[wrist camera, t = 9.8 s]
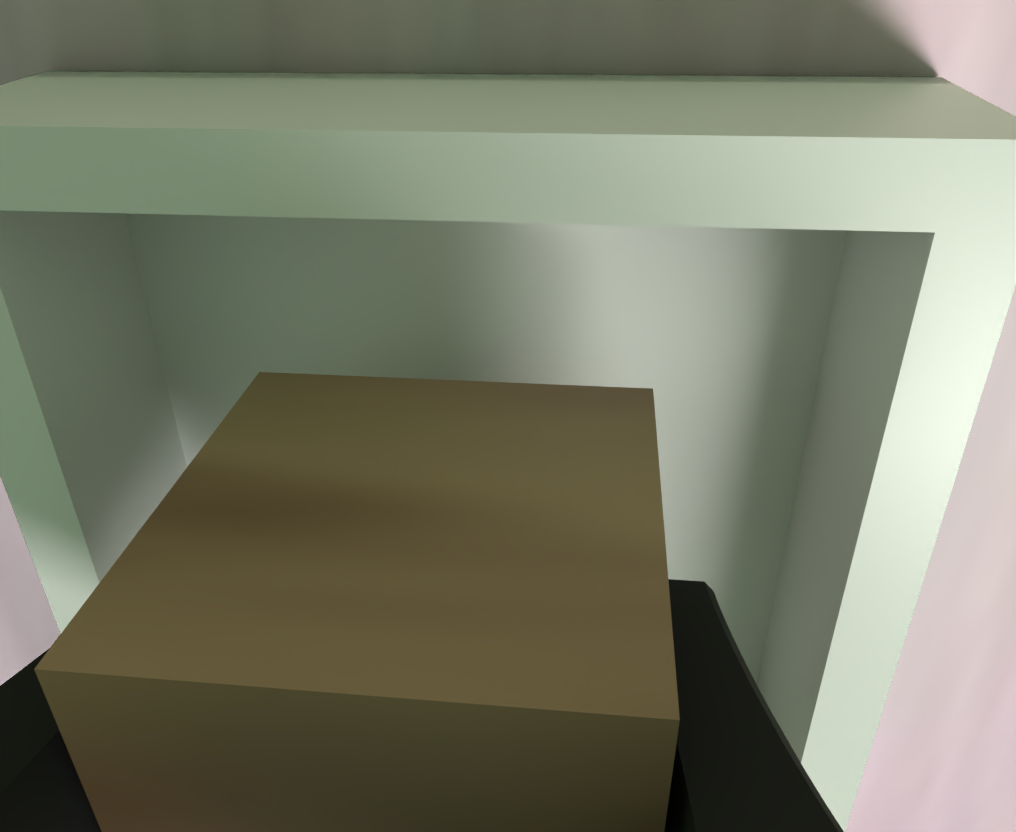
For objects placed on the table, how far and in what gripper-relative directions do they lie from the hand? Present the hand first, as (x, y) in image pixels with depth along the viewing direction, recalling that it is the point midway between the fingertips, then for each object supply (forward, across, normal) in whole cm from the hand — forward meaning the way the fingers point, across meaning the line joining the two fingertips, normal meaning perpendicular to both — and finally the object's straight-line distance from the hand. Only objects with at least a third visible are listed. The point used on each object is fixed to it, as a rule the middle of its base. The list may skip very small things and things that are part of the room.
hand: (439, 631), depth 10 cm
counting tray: (+4, 0, 0) cm, 4 cm away
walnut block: (+2, 0, 0) cm, 2 cm away
